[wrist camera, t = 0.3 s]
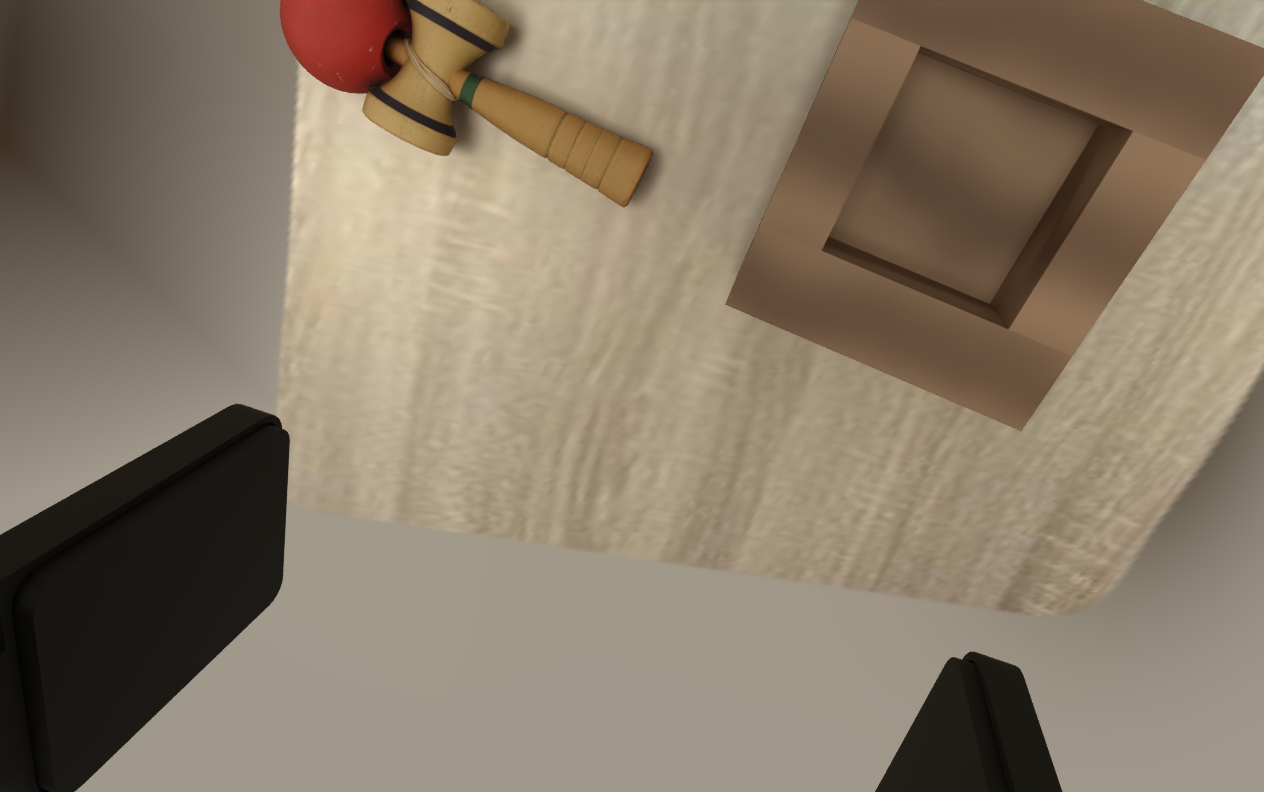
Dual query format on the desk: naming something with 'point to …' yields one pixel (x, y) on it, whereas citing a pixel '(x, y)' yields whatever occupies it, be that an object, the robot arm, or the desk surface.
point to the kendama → (447, 82)
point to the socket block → (987, 184)
